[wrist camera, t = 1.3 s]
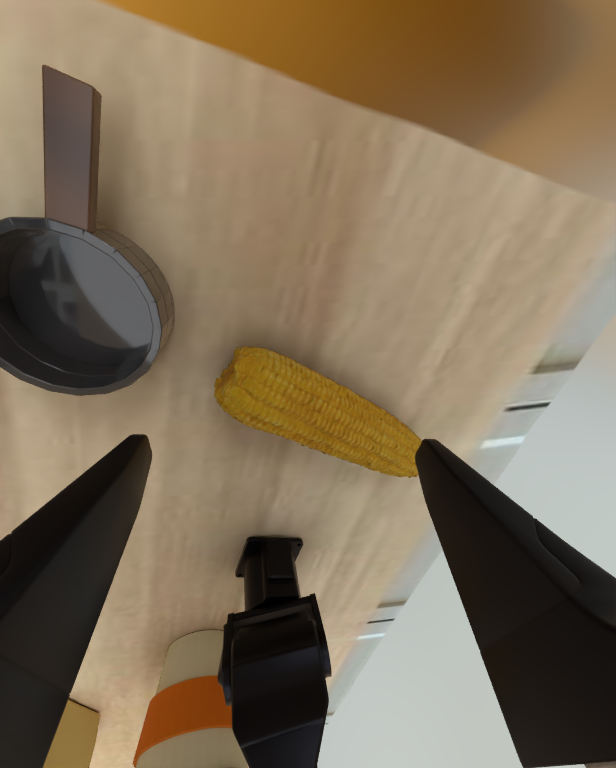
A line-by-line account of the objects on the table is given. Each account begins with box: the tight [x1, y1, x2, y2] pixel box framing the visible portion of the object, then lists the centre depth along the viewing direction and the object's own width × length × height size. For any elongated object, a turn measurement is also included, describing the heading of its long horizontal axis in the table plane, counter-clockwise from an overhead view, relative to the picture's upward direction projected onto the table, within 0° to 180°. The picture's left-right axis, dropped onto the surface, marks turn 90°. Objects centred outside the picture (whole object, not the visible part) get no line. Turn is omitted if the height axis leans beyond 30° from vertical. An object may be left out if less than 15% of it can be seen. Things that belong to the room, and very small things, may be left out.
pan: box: [0, 217, 174, 396], centre depth 18 cm, size 9×9×4 cm
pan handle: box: [42, 65, 101, 232], centre depth 14 cm, size 6×2×1 cm, turn 161°
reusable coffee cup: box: [133, 630, 248, 768], centre depth 35 cm, size 13×13×15 cm
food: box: [214, 346, 422, 478], centre depth 24 cm, size 21×6×6 cm, turn 57°
